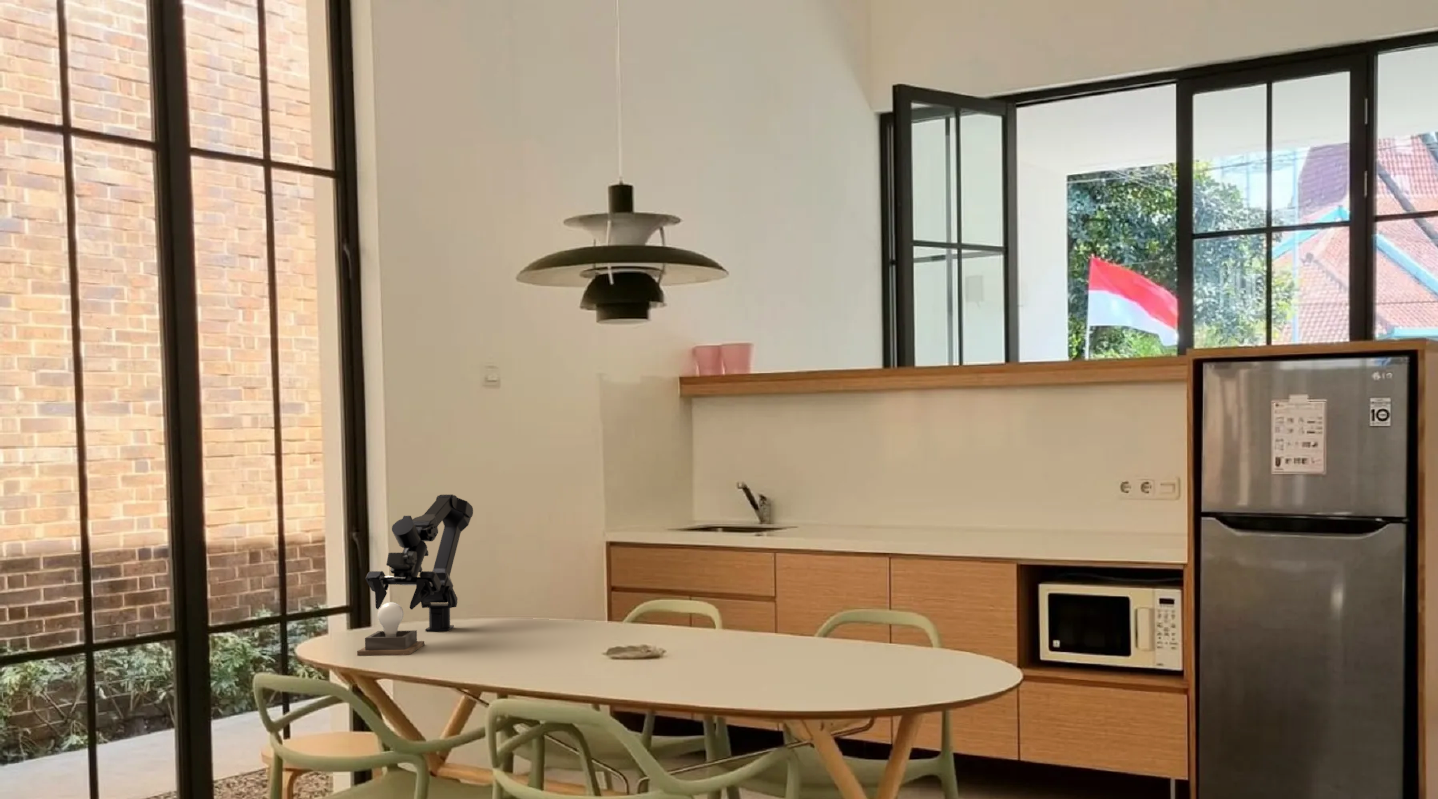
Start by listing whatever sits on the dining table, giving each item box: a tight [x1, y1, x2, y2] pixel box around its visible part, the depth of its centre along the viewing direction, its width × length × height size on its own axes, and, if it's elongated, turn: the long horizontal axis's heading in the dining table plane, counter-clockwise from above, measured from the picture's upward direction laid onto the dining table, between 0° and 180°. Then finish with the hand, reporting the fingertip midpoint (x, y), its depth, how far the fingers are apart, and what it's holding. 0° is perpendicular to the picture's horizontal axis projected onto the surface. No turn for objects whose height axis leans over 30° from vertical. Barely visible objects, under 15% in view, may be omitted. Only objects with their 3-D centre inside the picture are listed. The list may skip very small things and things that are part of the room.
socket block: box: [356, 630, 425, 656], centre depth 300 cm, size 13×13×4 cm
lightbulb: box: [377, 601, 405, 637], centre depth 301 cm, size 6×6×11 cm
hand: (393, 608), depth 302 cm, fingers open, 9 cm apart
